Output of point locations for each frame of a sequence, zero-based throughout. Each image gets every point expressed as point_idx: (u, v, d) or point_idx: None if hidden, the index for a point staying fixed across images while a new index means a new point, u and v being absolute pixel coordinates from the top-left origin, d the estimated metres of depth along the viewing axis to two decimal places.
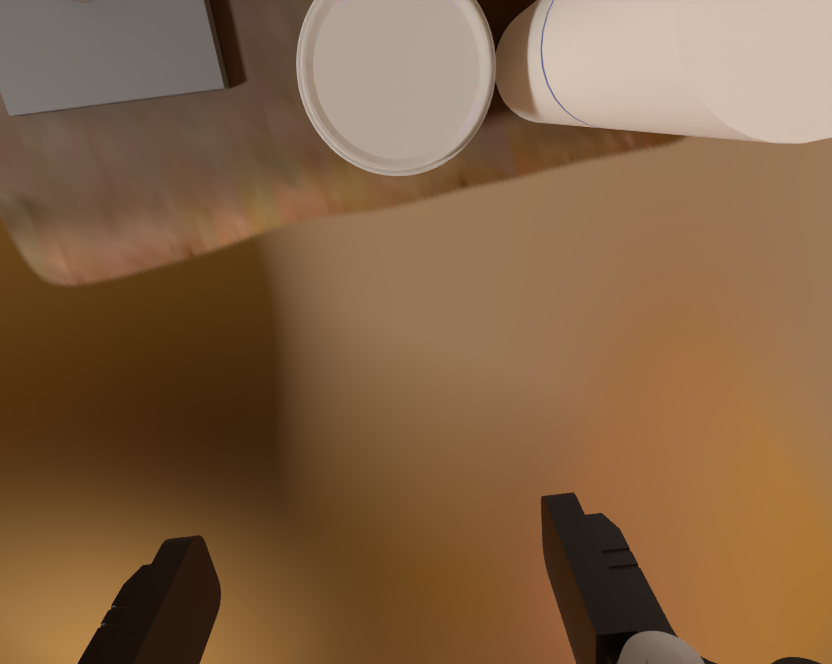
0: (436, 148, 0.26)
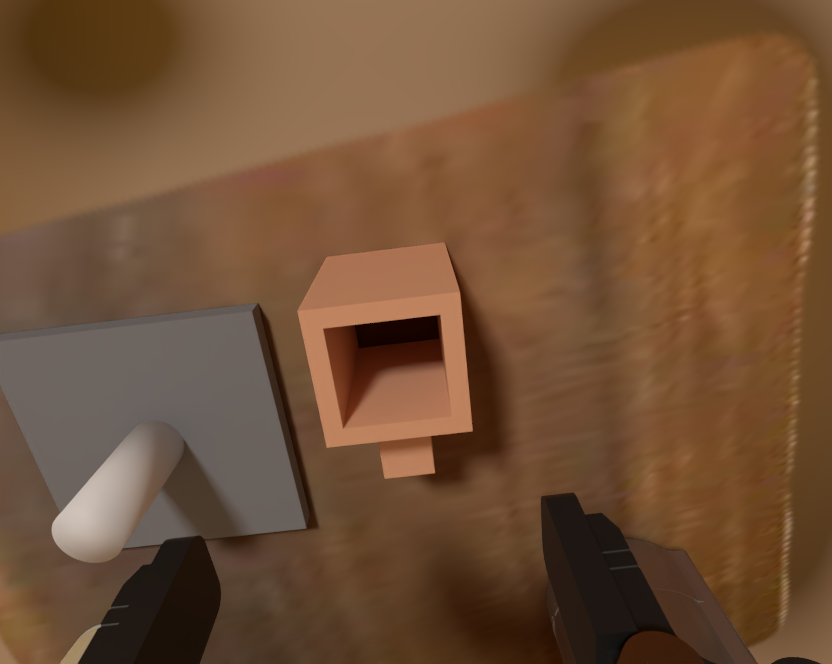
0: None
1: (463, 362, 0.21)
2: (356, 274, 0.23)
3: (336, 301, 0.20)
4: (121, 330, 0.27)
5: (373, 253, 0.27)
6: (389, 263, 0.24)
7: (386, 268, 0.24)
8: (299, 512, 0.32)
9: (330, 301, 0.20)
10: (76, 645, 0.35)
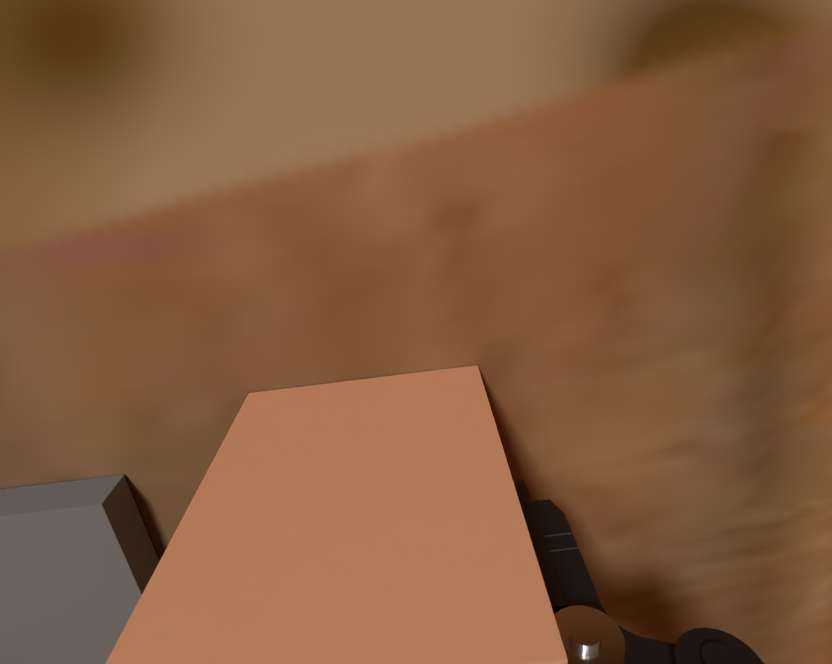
0: None
1: None
2: (289, 486, 0.10)
3: (206, 652, 0.07)
4: None
5: (338, 391, 0.13)
6: (367, 439, 0.11)
7: (359, 461, 0.11)
8: None
9: (190, 651, 0.07)
10: None
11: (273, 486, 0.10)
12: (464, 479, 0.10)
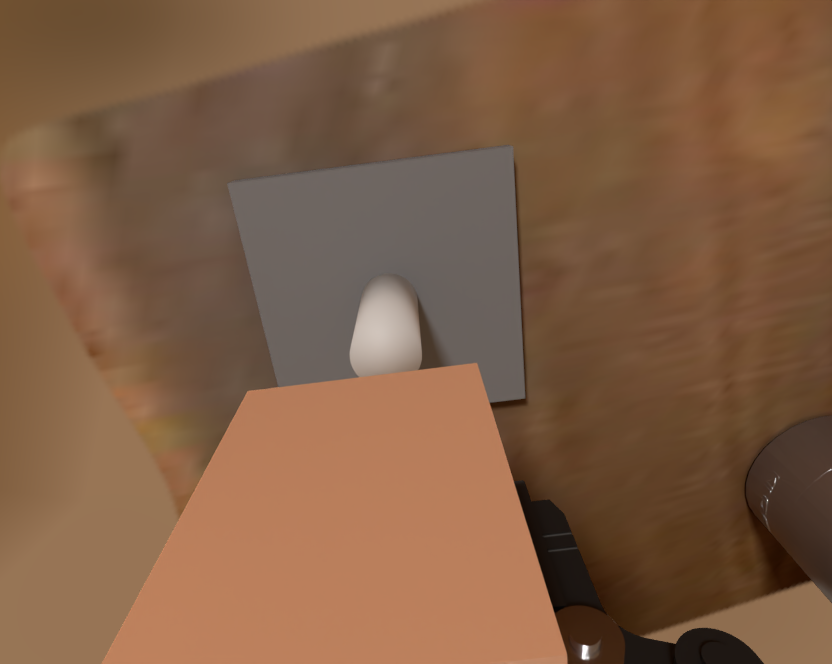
0: None
1: None
2: (288, 483, 0.10)
3: (204, 648, 0.07)
4: (374, 168, 0.26)
5: (337, 389, 0.13)
6: (366, 436, 0.11)
7: (357, 458, 0.11)
8: (520, 379, 0.31)
9: (188, 648, 0.07)
10: None
11: (272, 483, 0.10)
12: (463, 476, 0.10)
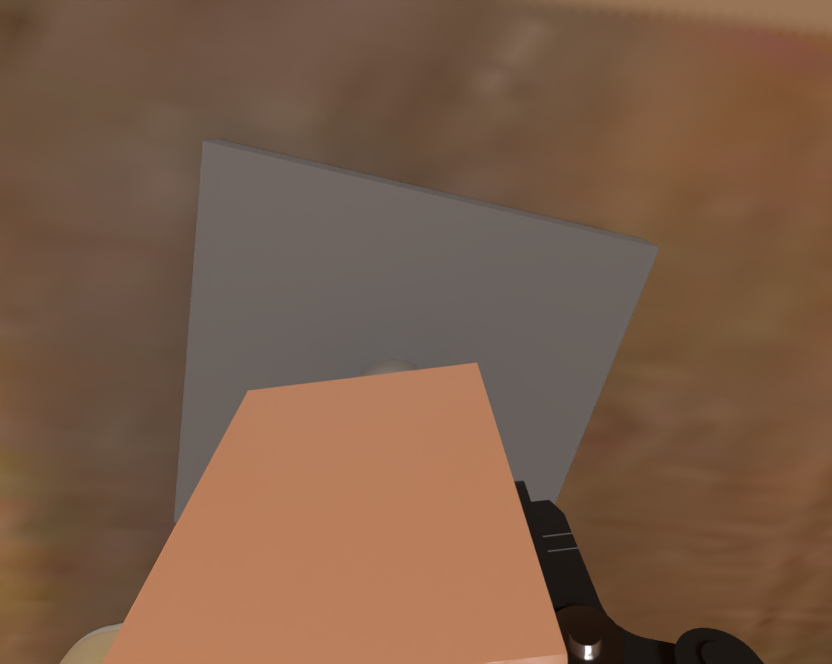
0: None
1: None
2: (288, 482, 0.10)
3: (205, 647, 0.07)
4: (448, 205, 0.16)
5: (337, 388, 0.13)
6: (366, 436, 0.11)
7: (358, 458, 0.11)
8: None
9: (189, 646, 0.07)
10: (92, 650, 0.23)
11: (272, 482, 0.10)
12: (464, 475, 0.10)
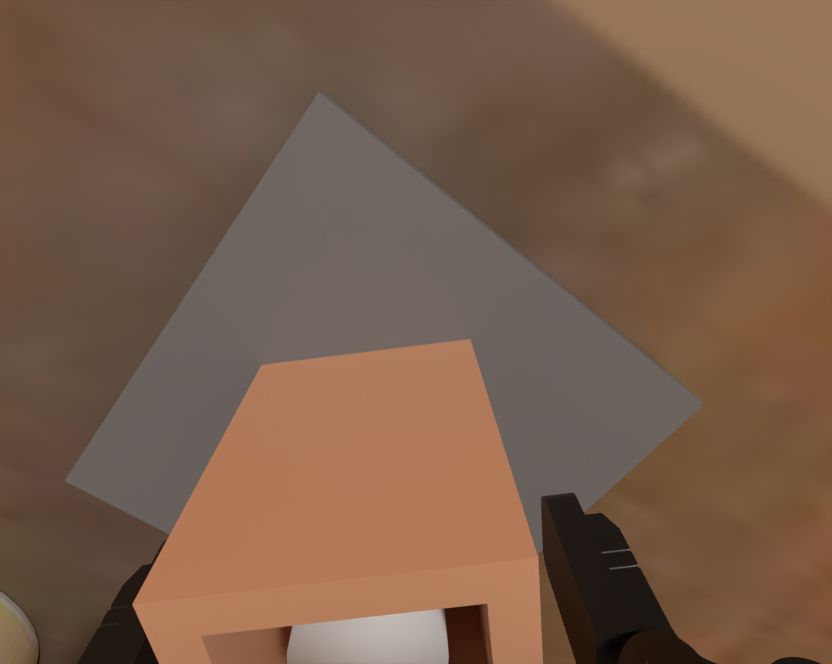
0: None
1: None
2: (301, 437, 0.11)
3: (236, 560, 0.08)
4: (537, 278, 0.15)
5: (343, 362, 0.15)
6: (370, 400, 0.13)
7: (363, 417, 0.12)
8: None
9: (222, 559, 0.08)
10: None
11: (287, 438, 0.12)
12: (456, 429, 0.11)
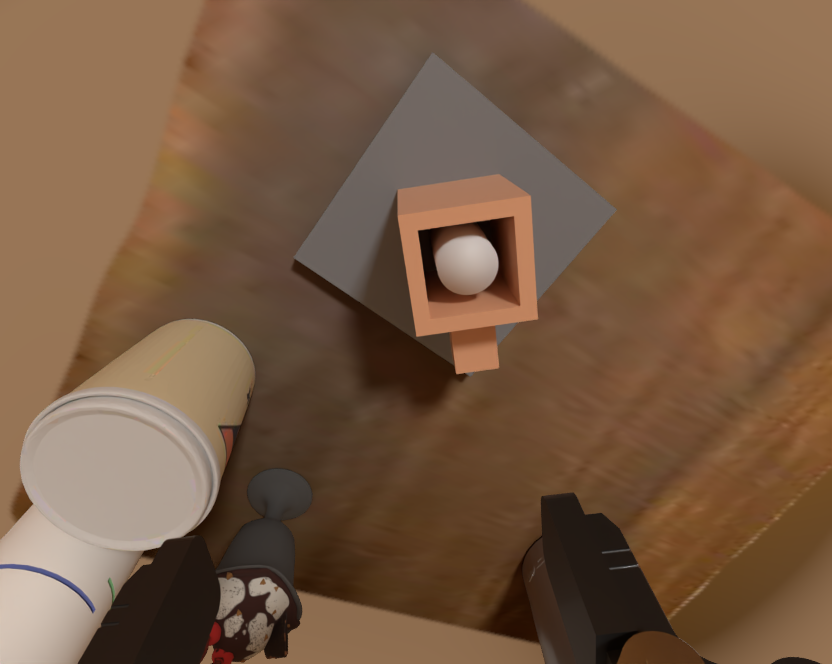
0: (33, 467, 0.25)
1: (531, 257, 0.25)
2: (433, 195, 0.28)
3: (427, 208, 0.24)
4: (531, 141, 0.30)
5: (438, 184, 0.31)
6: (457, 187, 0.29)
7: (457, 190, 0.28)
8: None
9: (422, 209, 0.25)
10: (191, 324, 0.34)
11: (427, 196, 0.28)
12: (498, 187, 0.27)
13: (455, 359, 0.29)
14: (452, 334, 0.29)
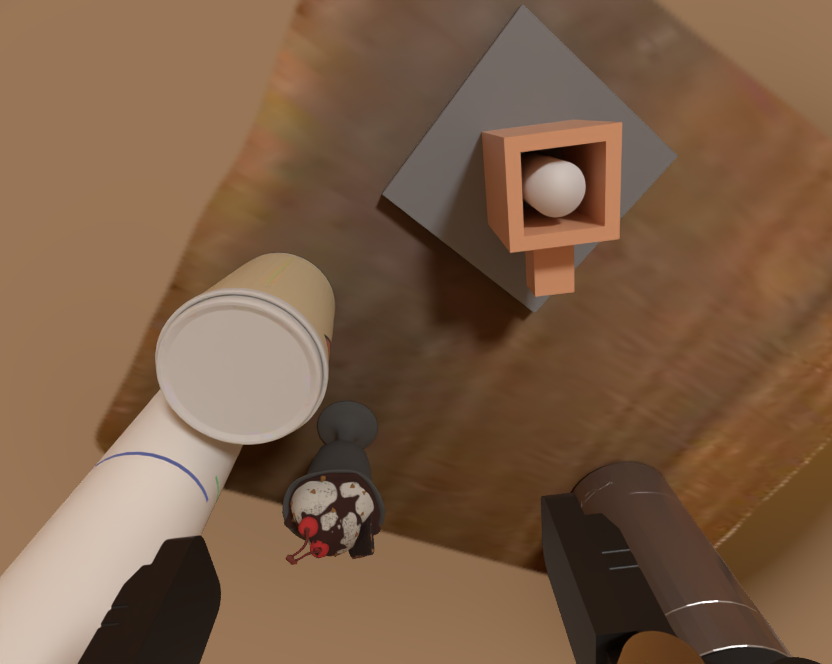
0: (167, 359, 0.28)
1: (618, 180, 0.28)
2: (523, 130, 0.31)
3: (528, 133, 0.28)
4: (604, 89, 0.34)
5: (520, 127, 0.34)
6: (542, 126, 0.32)
7: (543, 127, 0.31)
8: (544, 298, 0.39)
9: (523, 134, 0.28)
10: (283, 256, 0.37)
11: (518, 130, 0.31)
12: (583, 123, 0.30)
13: (535, 282, 0.33)
14: (535, 258, 0.32)
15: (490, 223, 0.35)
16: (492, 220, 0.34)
